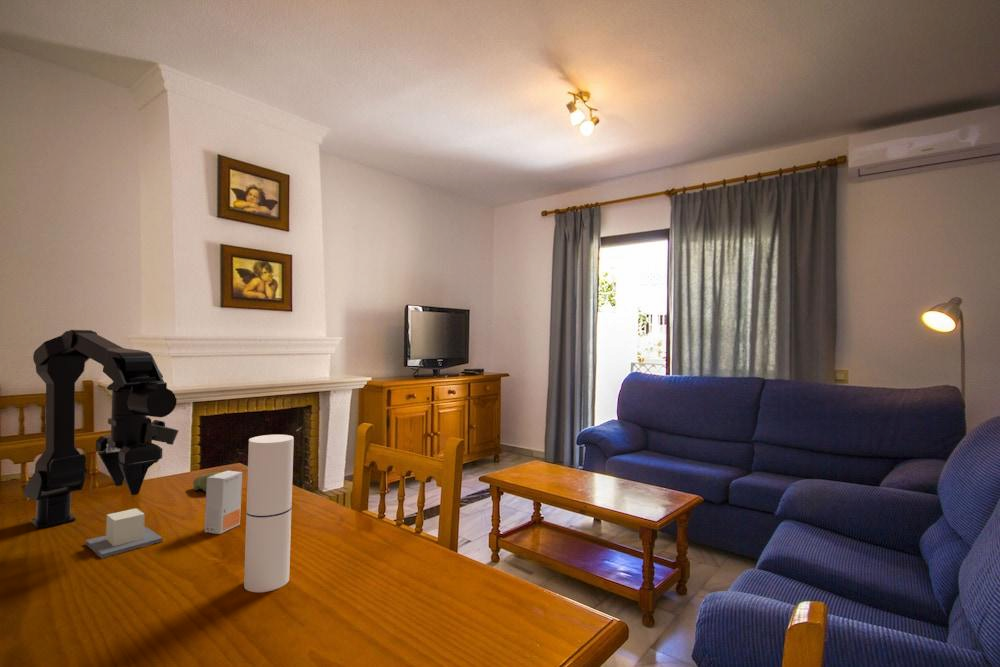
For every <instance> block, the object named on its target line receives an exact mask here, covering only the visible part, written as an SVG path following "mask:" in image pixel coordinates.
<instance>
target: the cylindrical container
mask: <svg viewBox="0 0 1000 667" xmlns="http://www.w3.org/2000/svg"><path fill="white" fill-rule="evenodd" d="M294 441H295V439H294V436H293V435H290V434H289V435H288V434H266V435H265V434H264V435H258V436H254V437H250V438H249V439H248V453H247V454H248V455H247V456H248V458H247V485H246V486H247V487H246V512H245V513H246V517H245V544H244V546H245V548H244V574H243V575H244V577H243V587H244V589H245V590H246V591H248V592H250V593H251V592H252V593H266V592H271V591H275V590H277V589H280V588H282V587H284V586H285V585H286V584H288V582H289V581H290V570H291V569H290V567H291V566H290V562H291V560H290V559H291V538H292V537H291V535H292V534H291V532H292V530H291V529H292V506H293V505H292V504H293V503H292V502H293V501H292V500H293V497H292V496H293V472H294V470H293V469H294V444H295V442H294Z"/></svg>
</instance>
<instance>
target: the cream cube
mask: <svg viewBox="0 0 1000 667" xmlns="http://www.w3.org/2000/svg"><path fill="white" fill-rule="evenodd" d="M105 521H106V524H105V525H106V526H105V528H106V529H105V535H106V540H107V541H108V542H109V543H111V544H112V545H113V546H117V545H121V544H124V543H128V542H132V541H136V540H140V539H144V526H145V513H144V512H142V511H141V510H140V509H139V508H137V507H136V508H131V509H127V510H122V511H121V510H120V511H117V512H113V513H108V514H106V520H105Z"/></svg>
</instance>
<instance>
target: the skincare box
mask: <svg viewBox="0 0 1000 667" xmlns="http://www.w3.org/2000/svg"><path fill="white" fill-rule="evenodd" d="M217 473H218V474H215V475H213V476H210V477H207V488H206V492H205V515H204V533H207V532H209V533H208V534H216V535H221V534H223V533H225V532H227V531H229V530H231V529H233V528H235V527H238V526H239V525H240V524H241V509H242V508H241V506H242V486H243V484H242V483H243V472H242V471H236V470H235V471H234V470H233V471H232V470H226V471H223V472H217Z"/></svg>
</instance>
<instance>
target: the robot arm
mask: <svg viewBox="0 0 1000 667" xmlns="http://www.w3.org/2000/svg"><path fill="white" fill-rule="evenodd" d="M32 356H33V357H32V359H33V362H34V364H35V373H36V374H37V375H38V376H39V377H40V379H41V380H42V381H43V383H45V450H44V452H42V453H41V455H40V457H39V458H38V459H37V460H36V461H35V464H34V465H35V467H34V473H33V474H32V475H31V477H30V478H29V479H28V481H27V483H26V484H25V486H24V487H23V488H24V489H23V490H24V497H25V498H27V499H30V500H34V501H36V510H35V514H36V515H35V518H31V519H30V522H31V524H32V525H33V526H34V527H35V528H36V529H41V528H45V527H46V528H47V527H50V526H54V525H60V524H64V523H69V522H74V521H76V520H77V518H76V516H74V515H73V514H72V513H71V509H72V506H71V505H72V492H76V491H82V490H83V487H84V485H85V480H86V477H87V473H88V471H87V468H86V462H87V461H86V460H87V458H86V455H85V454H83V453H82V454H81V452H80V451H79V450H78V449H77V448H76V447H75V446H76V443H75V442H76V441H75V440H76V439H75V438H76V419H75V418H76V382H78V380H79V378H80V377H81V376H82V374H83V373H84V372H85V367H86V363H87V361H89V359H91V360H92V361H95V362H96V363H98V364H100V365H101V366H102V372H103V373H104V374H105V375H106V376H107V377H108V378H109V379H110V380H111V381H112V383H110V384H108V386H107V387H106V389H107V390H108V391H112V392H111V418H110V417H109V418H107V424H108V425H110V434H109V435H108V434H107V435H101V436H100V437H99V438H98V439H96V440H95V450H96V451H98V452H97V455H99V458H100V459H101V461H102V463H103V465H104V466H105V469H106V470H107V472H108V474H109V476H110V478H111V480H112V481H113V483H114V485H115V486H116V487H120V486H123V485H124V484H123V483H124V481H125V484H126V486H127V487H128V490H129V493H130V495H131V496H136V495H139V493H140V491H141V488H142V485H143V482H144V480H145V477H146V474H147V472H148V470H149V468H151V467H152V465H154V464H156V463H158V462H159V460H161V459H163V448H162V447H160V446H159V445H158V444H155V443H153V442H154V441H155V442H161V443H166V445H171V446H173V445H174V444H175V441H176V437H177V435H178V433H179V430H178V429H176V428H173V427H169V426H166V422H165V421H163V420H158V419H154V420H152V419H151V418H150V417H153V418H164V417H167V416H169V415H170V414H172V412H174V410H175V408H176V406H177V402H178V401H177V397H176V394H175V393H174V392H173V390H171V389H169V388H168V386H167V385H168V383H167V382H165V381H164V379H163V377H164V376H163V374H162V372H161V371H160V369H159V367H158V365H157V363H156V360H155V359H154V357H153V355H152V354H151V353H150V352H149V351H145V350H140V349H133V348H132V349H131V348H124V347H122V346H120V345H118V344H116V343H115V342H113V341H110V340H109V339H107V338H105V337H103V336H101V335H99V334H98V333H97V332H96V331H93V330H91V329H69V330H66V331H64V332H63V333H61V335H59V336H56V337H54V338H51V339H48V340H45V341H43V343H42V344H41V345H39V346H38V347H37V348H36V349H35V350H34V352H33V355H32ZM152 441H153V442H152Z"/></svg>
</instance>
